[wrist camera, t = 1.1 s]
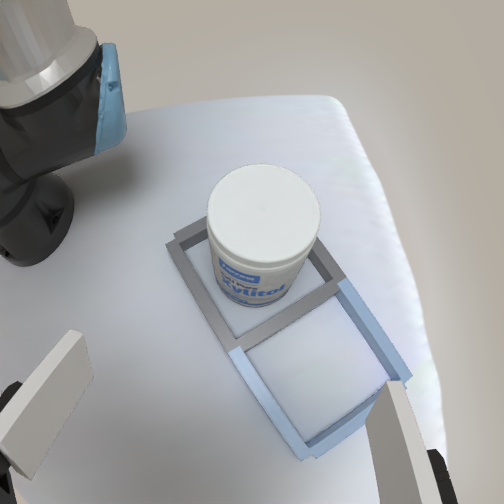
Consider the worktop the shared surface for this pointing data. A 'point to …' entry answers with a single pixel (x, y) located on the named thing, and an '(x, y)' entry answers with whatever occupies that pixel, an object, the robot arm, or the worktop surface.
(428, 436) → the worktop surface
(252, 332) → the bay frame
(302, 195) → the supplement tub
